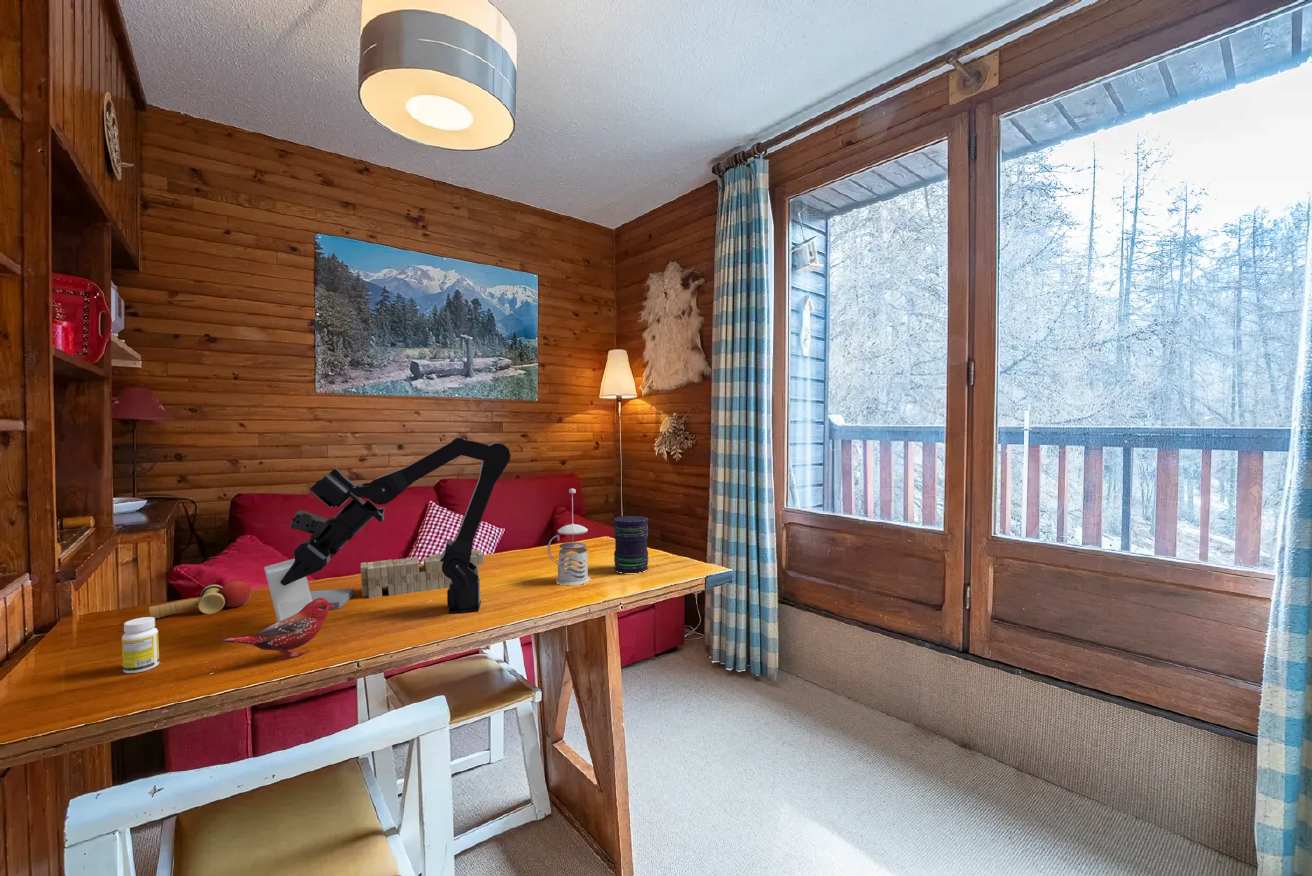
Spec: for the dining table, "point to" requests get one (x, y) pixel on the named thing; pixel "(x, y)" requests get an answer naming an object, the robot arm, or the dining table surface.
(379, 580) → the block tower
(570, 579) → the french press
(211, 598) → the kendama
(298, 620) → the decorative bird figurine
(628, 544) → the storage jar
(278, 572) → the small box
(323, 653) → the dining table surface
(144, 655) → the supplement bottle
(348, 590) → the flat grey square mat
